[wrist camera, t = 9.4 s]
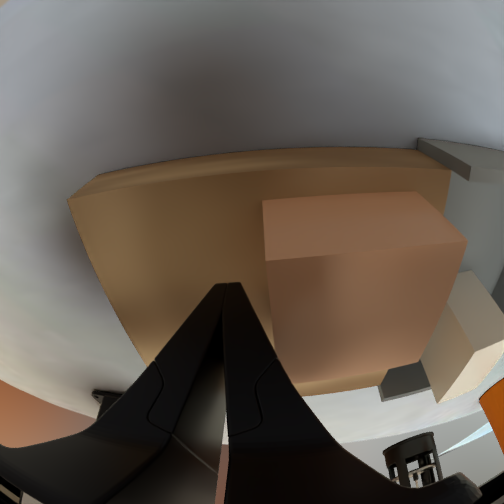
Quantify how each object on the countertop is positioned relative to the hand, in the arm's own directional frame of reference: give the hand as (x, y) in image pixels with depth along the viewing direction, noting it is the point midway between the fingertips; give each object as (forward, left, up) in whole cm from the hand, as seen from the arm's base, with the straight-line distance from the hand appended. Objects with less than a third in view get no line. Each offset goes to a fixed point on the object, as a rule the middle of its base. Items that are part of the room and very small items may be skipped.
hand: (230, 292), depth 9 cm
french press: (-42, -24, -4) cm, 48 cm away
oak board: (-3, -1, -4) cm, 5 cm away
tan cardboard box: (0, -4, -1) cm, 4 cm away
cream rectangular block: (-6, -10, -1) cm, 11 cm away
